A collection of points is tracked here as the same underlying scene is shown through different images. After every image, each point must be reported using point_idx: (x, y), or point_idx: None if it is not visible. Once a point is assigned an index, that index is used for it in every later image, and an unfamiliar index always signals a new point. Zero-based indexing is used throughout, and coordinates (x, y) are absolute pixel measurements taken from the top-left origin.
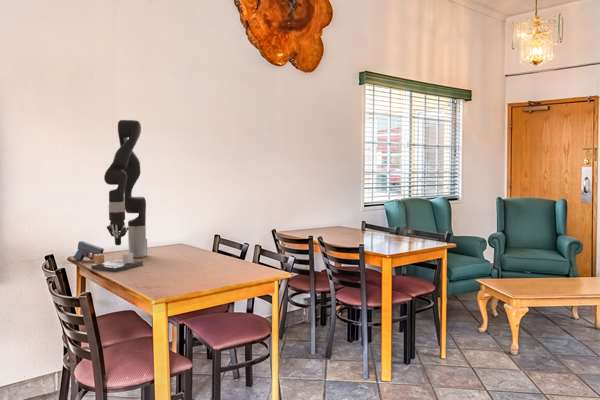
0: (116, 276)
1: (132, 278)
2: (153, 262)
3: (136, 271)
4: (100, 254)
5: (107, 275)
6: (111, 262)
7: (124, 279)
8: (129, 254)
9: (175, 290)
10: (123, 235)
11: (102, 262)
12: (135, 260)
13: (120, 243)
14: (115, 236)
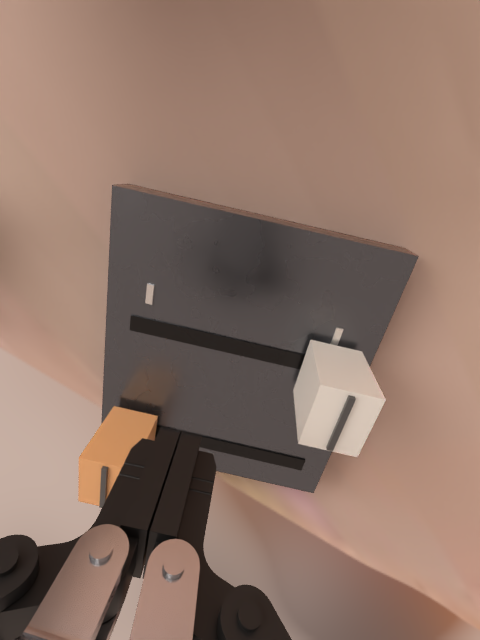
0: (367, 539)
1: (474, 561)
2: (468, 85)
3: (435, 439)
4: (114, 482)
5: (307, 528)
6: (170, 357)
7: (438, 576)
8: (365, 436)
9: None
10: (268, 634)
11: (153, 433)
12: (324, 236)
13: (213, 469)
14: (117, 614)
